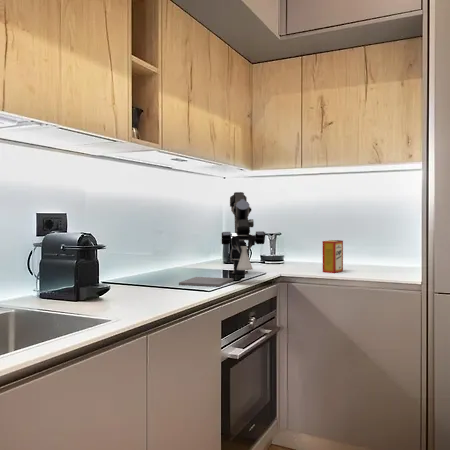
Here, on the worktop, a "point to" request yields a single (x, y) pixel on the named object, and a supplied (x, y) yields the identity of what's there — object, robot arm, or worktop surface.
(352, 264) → the worktop surface
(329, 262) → the baking soda box
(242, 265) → the flask
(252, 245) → the robot arm
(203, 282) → the mat
